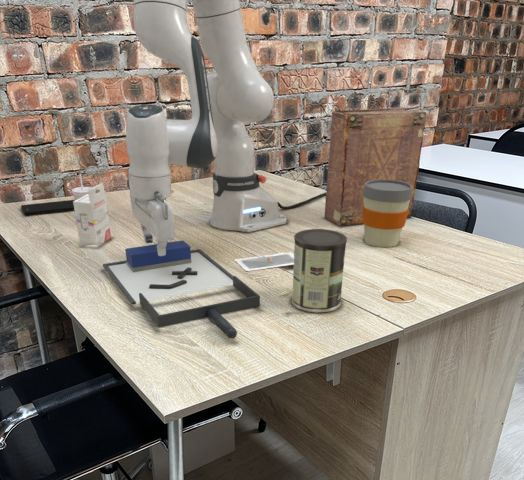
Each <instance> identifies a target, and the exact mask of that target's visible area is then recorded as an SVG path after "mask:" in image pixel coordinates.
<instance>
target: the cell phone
mask: <svg viewBox="0 0 524 480" xmlns="http://www.w3.org/2000/svg"><path fill="white" fill-rule="evenodd" d="M73 201H75V199H69V200H57V201H49V202H38V203H28V204H27V203H26V204H21V205H20V207H21V211H22V212H23V214H24V216H31V215H32V216H33V215H40V214H49V213H58V212H59V213H61V212H69V211H75V210H74V204H73Z"/></svg>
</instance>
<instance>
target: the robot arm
mask: <svg viewBox="0 0 524 480" xmlns="http://www.w3.org/2000/svg"><path fill="white" fill-rule="evenodd" d="M187 1H188V0H133V9H132V10H133V11H132V12H133V26H134V32H135V35H136V38H137V40H138V41H139V43H140V45H141V46H142V47H143V48H144V49H145V50H146V51H148V52H149V53H151V54H152V55H154V56H155V57H157V58H158V59H161V60H163V61H165V62H167V63H169V64H171V65H173V66H175V67H177V68H179V70H181V71H182V72H183V74H184V75H185V77H186V80H187V86H188V87H187V88H188V94H189V102H190V108H191V118H189V119H173V118H166V114H165V110H164V108H163V107H161V106H159V105H157V104H150V103H147V104H145V103H144V104H138V105H134V106H132V107H130V108H129V109H128V110H127V113H126V123H125V144H126V145H125V147H126V153H127V157H128V160H129V167H128V177H127V178H126V188H127V190H128V191H129V198H130V204H131V211H132V214H133V217H134V219H135V220H136V221H137V222H138V223H139V224H140V227H141V231H142V234H143V242H145V243H146V244H152V243H153V242H154V238H155V240H156V244H157V247H156V253H157V254H158V255H159V256H165V255H166V245H167V243H168V242H169V241H174V239H175V236H176V229H175V217H174V211H173V206H172V205H171V204H170V202H168V201H167V199H168V198H169V197H170V198H171V196H172V195H173V194H172V193H173V192H172V174H171V169H170V166H179V167H180V166H181V167H188V168H194V169H200V170H203V169H205V168H207V167H208V166H209V165H211V164H212V163H213V171H214V172H213V173H212V193H213V204H212V211H211V216H210V219H209V225H211V226H212V227H213V228H216V229H221V230H224V231H225V230H226V231H238V232H243V233H252V232H256V231H260V230H265V229H268V228H272V227H277V226H281V225H285V224H287V223H288V220H287V217H286V216H285V215H284V214H282V213H280V209H281V210H283V211H284V210H291V209H295V208H297V207H301V206H304V205H306V204H308V203H311V202H313V201H315V200H318V199H320V198H323V197H326V192H323V193H320V194H318V195H315V196H313V197H311V198H308V199H306V200H302V201H300V202H298V203H297V202H296V203H294V204H292V205H289V206H284V205H282V204H281V203H280V202H279V201H277V199H276V198H275V197H274V196H273V195H272V194H270V193H269V192H268V191H266V189H264V188H263V187H262V186H260V183H261V184H266V182H267V177H266V176H265V175H263V174H258V173H256V172H255V143H254V141H253V139H252V138H251V136H250V135H249V133H248V131H247V129H246V126H245V124H246V123H247V124H249V123H256V122H257V123H258V122H262V121H264V120H266V119H267V118H268V117H269V116H270V114H271V112H272V111H273V108H274V103H275V97H274V96H275V95H274V92H273V89H272V87H271V85H270V84H269V83H268V82H267V81H266V80H265V79H264V77H263V76H262V74H261V73H260V70H259V69H258V67H257V65H256V63H255V61H254V58H253V56H252V53H251V50H250V48H249V45H248V41H247V37H246V32H245V25H244V20H243V15H242V8H241V2H240V0H192V5H193V12H194V16H195V17H194V18H195V22H196V28H197V31H198V36H199V39H198V38H196V37H194V35H192V33H191V31H190V28H189V24H188V16H187V15H188V12H187V11H188V9H187V8H188V6H187V5H188V2H187ZM205 58H206V59H207V60H208V61H209V62H210V63H211V65H212V67H213V69H214V71H215V72H213V73H209V74H208V73H207V68H206V61H205ZM153 237H154V238H153Z"/></svg>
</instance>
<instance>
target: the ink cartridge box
mask: <svg viewBox="0 0 524 480" xmlns="http://www.w3.org/2000/svg"><path fill="white" fill-rule="evenodd" d="M95 191H96V193H95V194H94V192H95ZM97 191H98V192H97ZM74 200H75V199H74ZM73 204H74V210H73V211H74V216H75V221H76V228H77V233H78V239H79V246H80V247H85V246H92V245H99V244H105V243H106V242H107V241H109V240H110V239H112V234H111V225H110V218H109V210H108V201H107V194H106V190H105V185H104V182H101V183H99V184H97V185H95V186H93V188H91V189H89V190H88V194H87V195H85V196H83V197H81V198H79V199H77V200H75V201H73Z"/></svg>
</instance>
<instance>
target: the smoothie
mask: <svg viewBox="0 0 524 480" xmlns="http://www.w3.org/2000/svg"><path fill="white" fill-rule="evenodd" d="M78 175H79V182H80V187H79V186H78V187H74V188H72V189H71V194H72V195H73V197H74V198H73V199H74V200H77V199H79V198H81V197H83V196H85V195H87V194H88V190H89V189H91V188H93V187H94V186H93V187H92V186H84V183H83V177H82V173H78ZM94 194H97V190H96V191H95V192H94Z"/></svg>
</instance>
